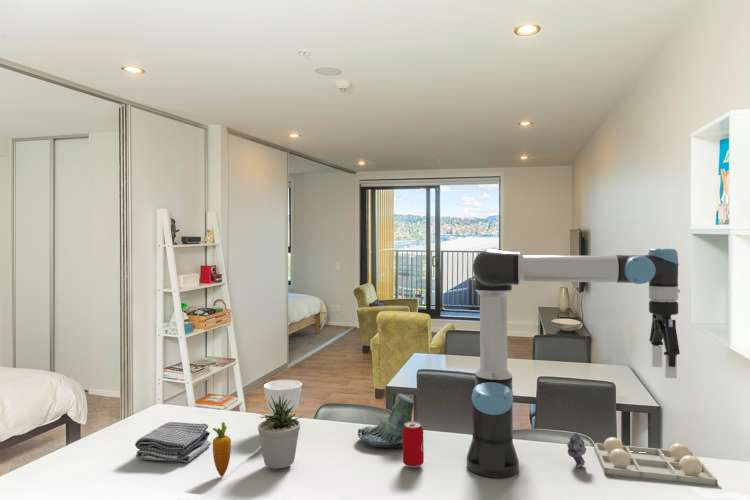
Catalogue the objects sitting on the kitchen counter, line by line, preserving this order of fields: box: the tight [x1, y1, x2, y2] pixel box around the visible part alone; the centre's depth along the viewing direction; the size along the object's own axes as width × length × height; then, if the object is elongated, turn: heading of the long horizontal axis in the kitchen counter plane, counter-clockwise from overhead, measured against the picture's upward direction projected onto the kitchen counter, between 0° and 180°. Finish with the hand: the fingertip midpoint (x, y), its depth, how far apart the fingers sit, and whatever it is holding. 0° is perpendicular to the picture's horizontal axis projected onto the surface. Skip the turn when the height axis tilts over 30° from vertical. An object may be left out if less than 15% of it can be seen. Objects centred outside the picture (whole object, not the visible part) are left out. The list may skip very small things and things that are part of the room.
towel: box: [134, 421, 212, 464], centre depth 157 cm, size 15×18×8 cm
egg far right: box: [668, 442, 691, 462], centre depth 147 cm, size 5×5×5 cm
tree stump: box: [357, 393, 415, 449], centre depth 168 cm, size 18×20×18 cm
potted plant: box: [257, 393, 304, 469], centre depth 149 cm, size 13×14×20 cm
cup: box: [263, 379, 303, 417], centre depth 177 cm, size 14×14×16 cm
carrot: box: [212, 421, 232, 478], centre depth 140 cm, size 5×5×15 cm
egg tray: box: [593, 442, 718, 487], centre depth 145 cm, size 28×19×2 cm
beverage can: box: [402, 420, 425, 468], centre depth 147 cm, size 6×6×12 cm
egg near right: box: [679, 455, 702, 476], centre depth 138 cm, size 5×5×5 cm
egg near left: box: [610, 449, 630, 469], centre depth 143 cm, size 5×5×5 cm
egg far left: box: [603, 436, 624, 454], centre depth 152 cm, size 5×5×5 cm
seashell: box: [566, 432, 587, 468], centre depth 146 cm, size 5×5×10 cm
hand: (663, 372), depth 146 cm, fingers open, 13 cm apart
